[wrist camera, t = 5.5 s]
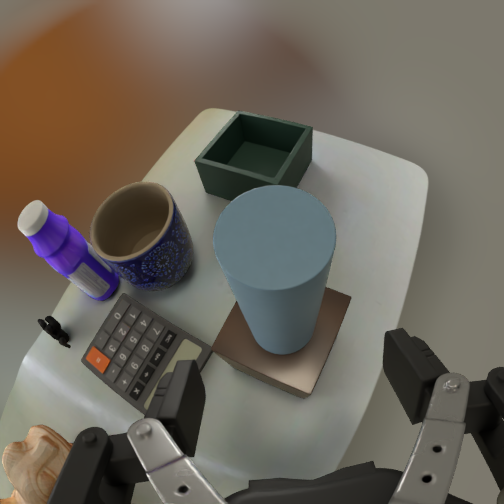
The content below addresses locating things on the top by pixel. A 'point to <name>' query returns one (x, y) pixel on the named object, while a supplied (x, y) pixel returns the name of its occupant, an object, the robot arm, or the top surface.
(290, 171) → the bin
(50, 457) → the ceramic vessel
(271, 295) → the cylinder
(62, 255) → the bottle
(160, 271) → the planter
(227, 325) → the stand
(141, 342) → the calculator
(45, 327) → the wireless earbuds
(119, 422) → the top surface
